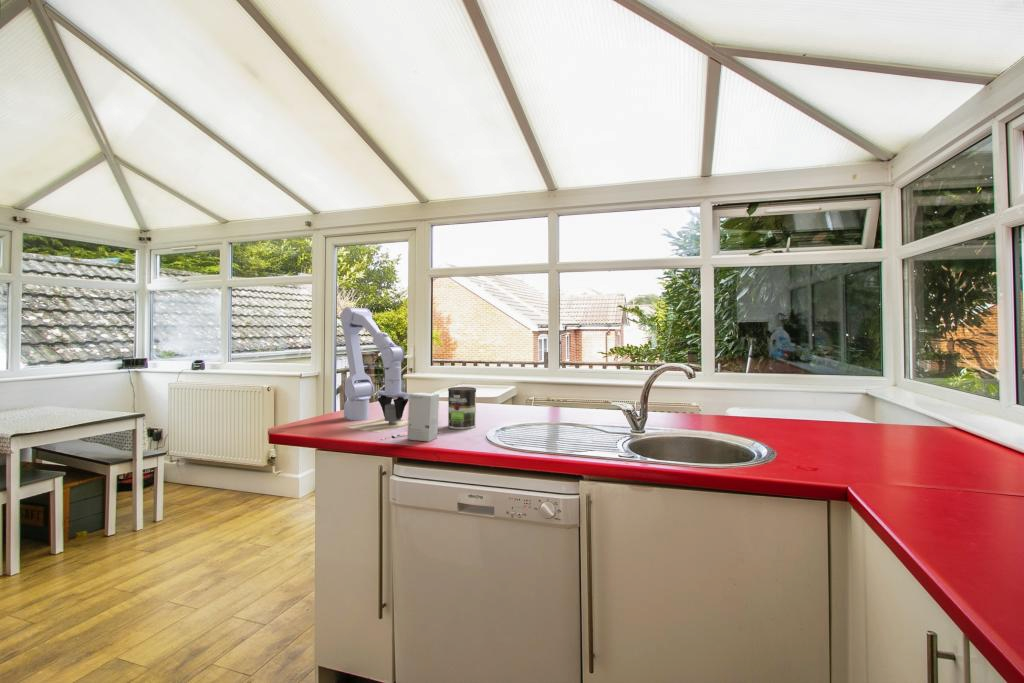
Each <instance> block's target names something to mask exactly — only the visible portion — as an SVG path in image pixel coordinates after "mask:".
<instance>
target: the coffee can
mask: <svg viewBox="0 0 1024 683" xmlns="http://www.w3.org/2000/svg"><path fill="white" fill-rule="evenodd" d="M447 391H448V394H447V395H448V402H447V403H448V406H447V407H448V408H447V409H448V410H447V411H448V412H447V413H448V415H447V416H448V417H447V419H448V422H447V424H448V425H447V427H448V428H449V429H452V430H468V429H469V430H470V429H474V428H476V427H477V424H476V420H477V419H476V418H477V417H476V415H477V413H476V412H477V410H476V409H477V408H476V406H477V405H476V404H477V401H476V400H477V388H476V387H469V386H456V387H455V386H453V387H452V386H451V387H449V388H448V389H447Z"/></svg>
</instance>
